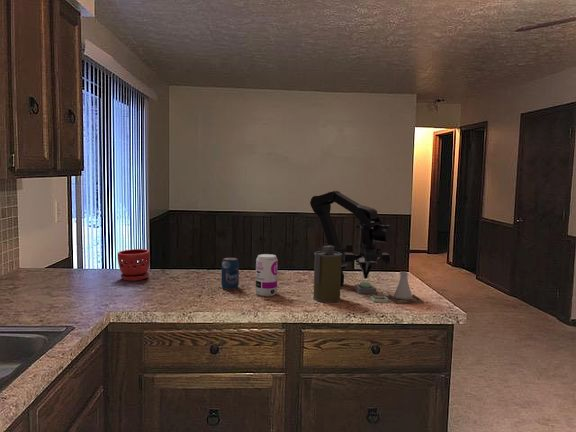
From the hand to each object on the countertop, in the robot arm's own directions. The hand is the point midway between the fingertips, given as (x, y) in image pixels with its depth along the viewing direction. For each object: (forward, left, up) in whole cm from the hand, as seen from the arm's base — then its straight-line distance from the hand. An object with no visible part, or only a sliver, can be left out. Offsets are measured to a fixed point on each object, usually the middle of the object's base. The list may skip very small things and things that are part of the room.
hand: (365, 278), depth 194 cm
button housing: (0, 0, -5) cm, 5 cm away
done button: (0, 0, -4) cm, 4 cm away
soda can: (-54, +7, -6) cm, 55 cm away
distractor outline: (+2, -13, -5) cm, 14 cm away
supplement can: (-40, -3, -6) cm, 40 cm away
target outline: (+12, -13, -5) cm, 19 cm away
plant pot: (-95, +24, -6) cm, 98 cm away
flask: (+12, -10, -6) cm, 17 cm away
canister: (-18, -11, -6) cm, 22 cm away
